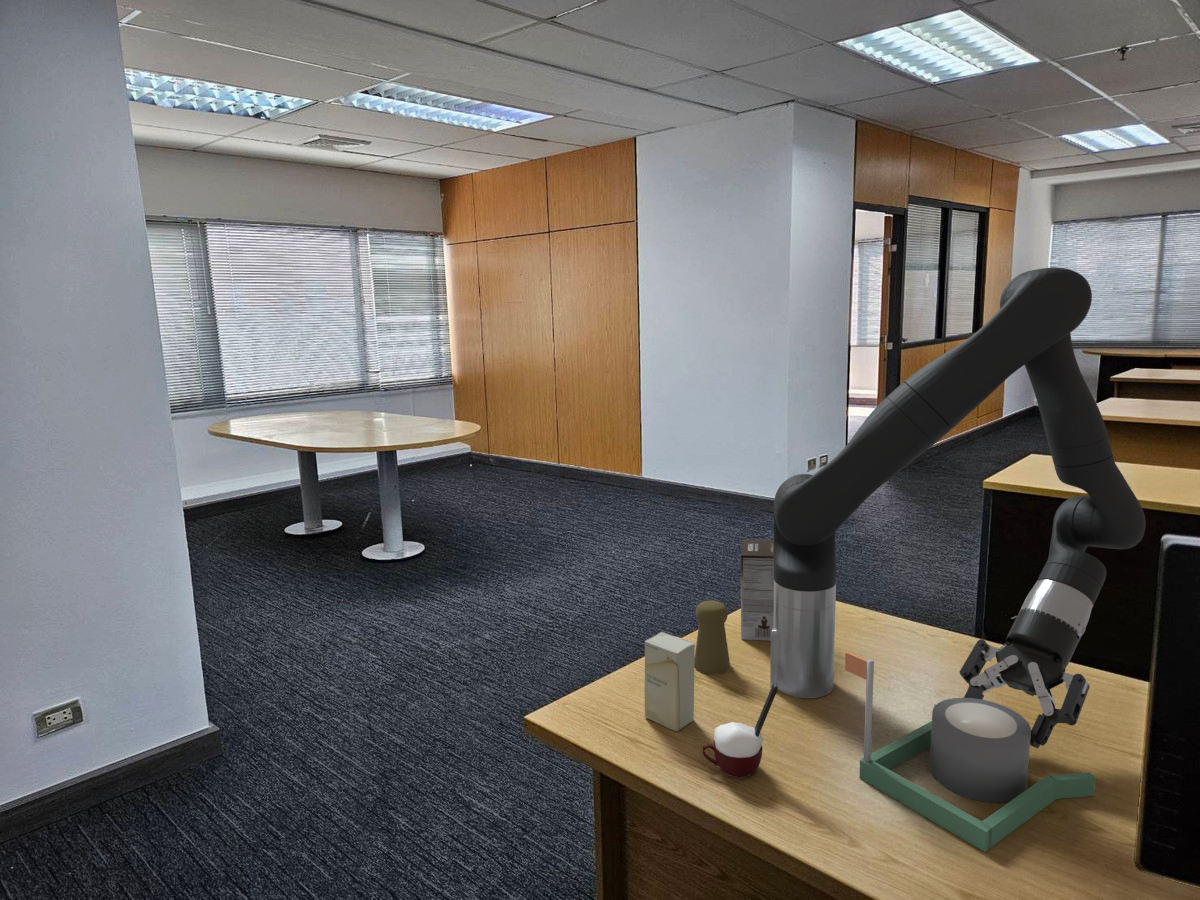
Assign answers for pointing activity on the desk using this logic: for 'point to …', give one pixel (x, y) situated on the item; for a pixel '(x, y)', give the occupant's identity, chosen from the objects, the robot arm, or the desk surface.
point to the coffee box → (757, 589)
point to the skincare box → (669, 680)
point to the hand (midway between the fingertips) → (998, 729)
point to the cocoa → (740, 744)
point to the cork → (711, 638)
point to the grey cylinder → (979, 749)
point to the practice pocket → (937, 809)
